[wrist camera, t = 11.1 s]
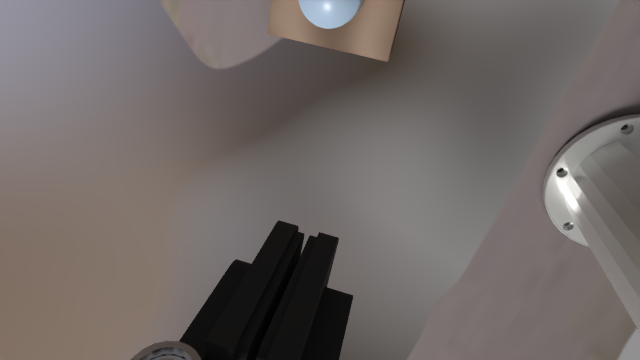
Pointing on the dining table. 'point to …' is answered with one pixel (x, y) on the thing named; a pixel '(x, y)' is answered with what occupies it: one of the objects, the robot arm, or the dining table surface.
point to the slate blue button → (330, 11)
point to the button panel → (342, 27)
